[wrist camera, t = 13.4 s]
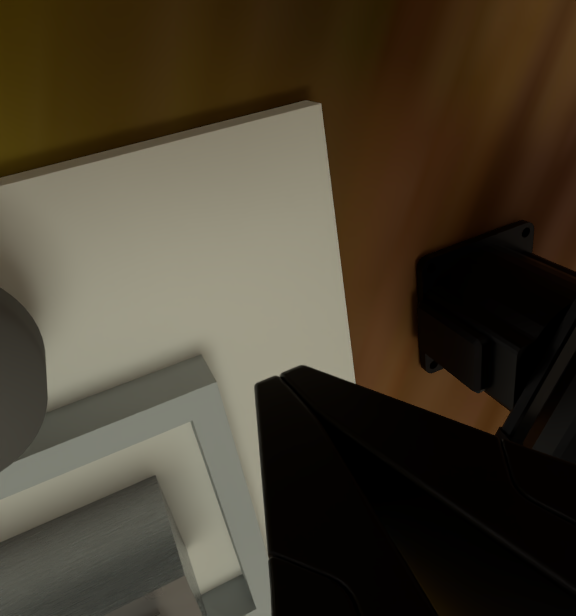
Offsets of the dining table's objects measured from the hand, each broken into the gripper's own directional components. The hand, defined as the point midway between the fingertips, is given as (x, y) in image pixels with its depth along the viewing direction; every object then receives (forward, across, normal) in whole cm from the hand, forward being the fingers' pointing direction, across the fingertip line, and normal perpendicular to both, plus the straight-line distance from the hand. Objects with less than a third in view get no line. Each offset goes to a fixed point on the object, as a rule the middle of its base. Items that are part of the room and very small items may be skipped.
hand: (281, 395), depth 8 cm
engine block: (+11, +7, +13) cm, 18 cm away
